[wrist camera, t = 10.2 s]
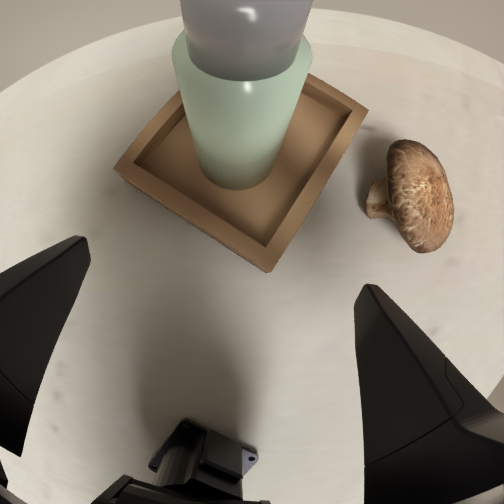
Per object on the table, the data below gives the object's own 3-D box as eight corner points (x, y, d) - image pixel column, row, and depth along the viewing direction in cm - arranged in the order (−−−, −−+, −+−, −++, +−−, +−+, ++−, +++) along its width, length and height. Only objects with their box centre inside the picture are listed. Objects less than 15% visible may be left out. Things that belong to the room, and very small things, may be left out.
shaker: (218, 203, 18) (195, 48, 5) (186, 140, 18) (141, -21, 5) (289, 170, 18) (368, 17, 5) (252, 112, 18) (276, -47, 6)
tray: (266, 273, 18) (270, 272, 16) (126, 180, 18) (113, 168, 16) (356, 125, 20) (368, 110, 18) (234, 58, 20) (234, 39, 18)
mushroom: (338, 210, 16) (437, 180, 11) (351, 138, 20) (420, 110, 15) (389, 280, 19) (465, 267, 15) (394, 205, 23) (454, 188, 19)
